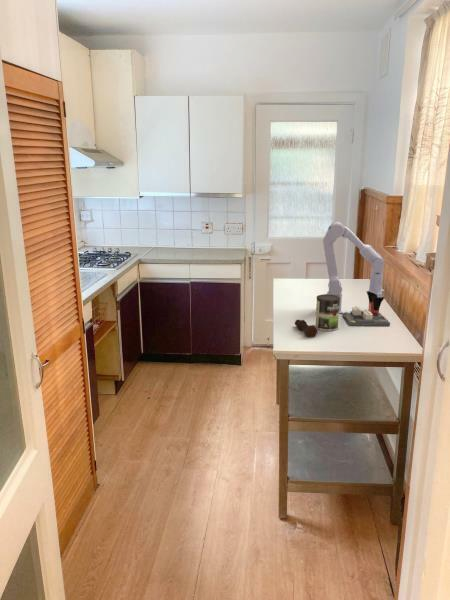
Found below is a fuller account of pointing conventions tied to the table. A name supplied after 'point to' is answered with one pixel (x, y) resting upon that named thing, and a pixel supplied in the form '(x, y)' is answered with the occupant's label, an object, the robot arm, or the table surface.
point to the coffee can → (327, 312)
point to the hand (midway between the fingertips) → (374, 307)
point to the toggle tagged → (367, 315)
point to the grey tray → (360, 321)
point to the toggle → (356, 310)
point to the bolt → (306, 328)
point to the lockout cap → (372, 308)
